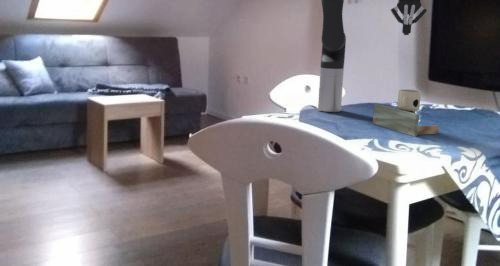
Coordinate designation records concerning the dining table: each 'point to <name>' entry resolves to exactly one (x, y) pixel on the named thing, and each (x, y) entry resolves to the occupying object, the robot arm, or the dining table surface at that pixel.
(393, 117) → the oak dock
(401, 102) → the character mug
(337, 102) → the robot arm
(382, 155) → the dining table surface
